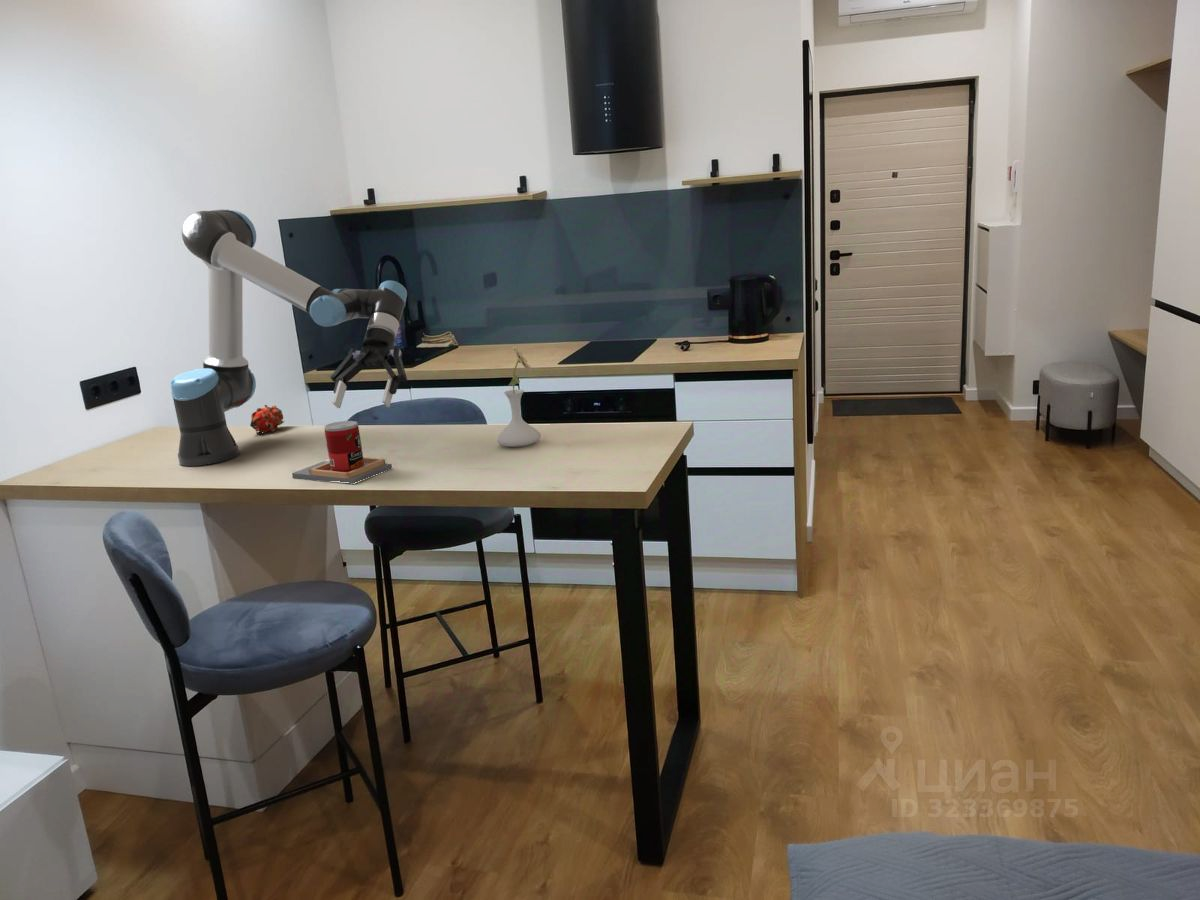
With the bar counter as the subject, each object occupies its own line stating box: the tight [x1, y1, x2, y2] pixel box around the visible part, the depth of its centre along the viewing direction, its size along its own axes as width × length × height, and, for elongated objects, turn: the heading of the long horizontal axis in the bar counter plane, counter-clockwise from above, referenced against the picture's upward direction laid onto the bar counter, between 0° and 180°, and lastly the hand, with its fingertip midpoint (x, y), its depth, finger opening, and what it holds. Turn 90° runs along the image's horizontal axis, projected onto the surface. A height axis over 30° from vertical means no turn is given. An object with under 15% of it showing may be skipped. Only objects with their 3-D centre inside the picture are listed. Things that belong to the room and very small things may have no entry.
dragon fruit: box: [249, 404, 285, 435], centre depth 276 cm, size 8×8×12 cm
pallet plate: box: [291, 456, 393, 483], centre depth 224 cm, size 20×13×2 cm, turn 60°
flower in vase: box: [496, 345, 542, 448], centre depth 235 cm, size 13×11×25 cm
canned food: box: [323, 420, 364, 473], centre depth 222 cm, size 8×8×11 cm
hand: (360, 405), depth 229 cm, fingers open, 13 cm apart
